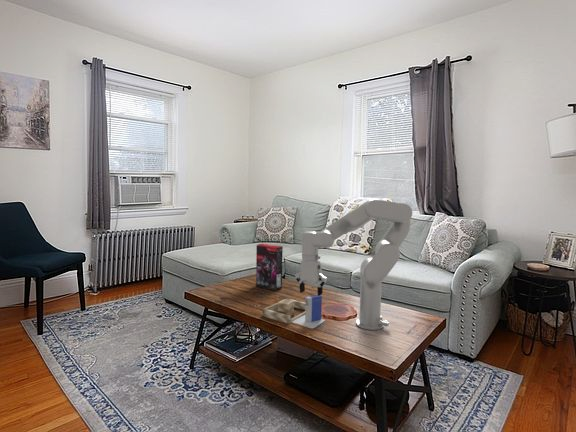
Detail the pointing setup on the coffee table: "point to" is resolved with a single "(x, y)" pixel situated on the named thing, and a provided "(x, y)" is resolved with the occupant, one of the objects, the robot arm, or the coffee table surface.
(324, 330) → the coffee table surface
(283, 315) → the rack
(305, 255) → the robot arm
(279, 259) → the graphics card box
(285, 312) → the offcut lower
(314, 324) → the mat
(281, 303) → the offcut upper
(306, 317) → the walkman
